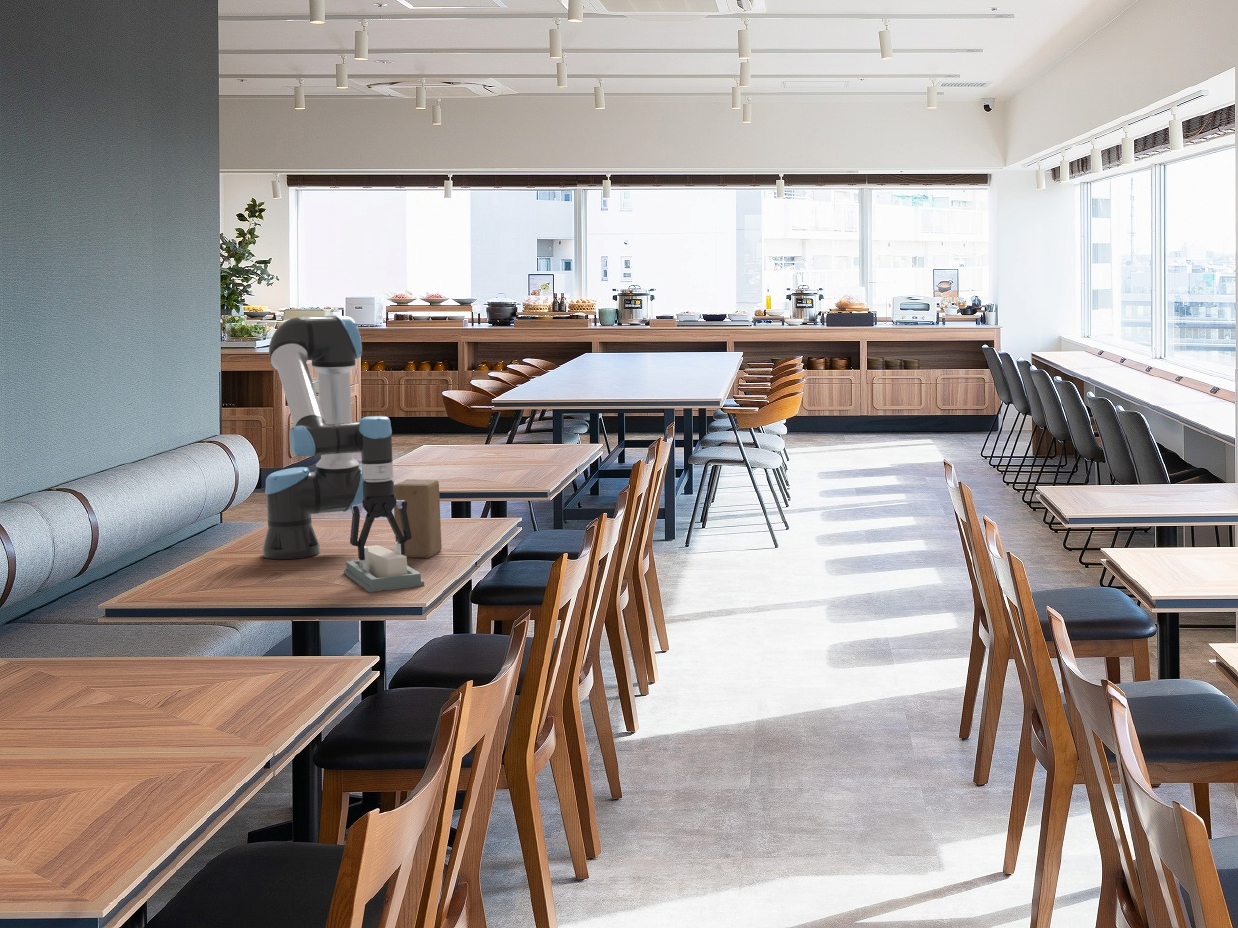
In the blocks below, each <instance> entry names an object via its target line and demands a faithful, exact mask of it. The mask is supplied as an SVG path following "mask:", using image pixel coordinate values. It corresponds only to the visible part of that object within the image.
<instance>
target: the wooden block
mask: <svg viewBox="0 0 1238 928" xmlns="http://www.w3.org/2000/svg"><path fill="white" fill-rule="evenodd" d="M394 497H395V499H396V500H400V501H401V500H404V501H406V502H407V510H406V511H407V516H408V521H409V526H410V531H411V536H412V538H411V539H410V540H407V541H406V542H405V543H404V545H405V554H404V556H407V558H409V559H410V558H412V559H428V558H431V557H433V556H435V555H436V554H438V553H440V552H442V525H441V524H442V523H441V505H440V504H441V503H440V502H441V501H440V499H441V498H440V482H439V480H437V479H412V478H411V479H406V480H402V481H400V482H398V483H394ZM393 513H394V514H393V515H394V518H395V520H396V522H397V525H398V527H399V529H400V531H401V533H402V535H404V533H403V528H402V523H401V518H400V513H399V509H398V508H397V505H395V507H394V508H393ZM394 539H395V542H398V540H397V538H396V536H395V537H394Z"/></svg>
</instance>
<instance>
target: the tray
mask: <svg viewBox="0 0 1238 928" xmlns="http://www.w3.org/2000/svg"><path fill="white" fill-rule="evenodd" d="M345 567H346V568H345V569H343V574H344V575H345V576H347V577H348V578H349V579H351V581H353V582H355V583H356V584H358V585H359V586H360V587H362V588H363V589H364V590H365V591H367V592H368V593H369V592H370V593H375V592H374V591H377V592H381V591H380V590H385V591H390V590H391V591H392V590H400V589H406V588H407V589H409V588H414V587H415V588H416V587H424V586H425V581H424V580H423V579H422V578H421V577H422V576H421V575H422V574H421V573H420V572H419V571H417V570H416V569H414V568H412V567H411V566H409V565H407V574H405V575H397V576H389V577H381V578H376V577H374V576H373V575H372V574H370V573H369V572H367V571H366V570H364V569H363V568H362V567H360V562H359V559H357V560H348V561H347V560H346V561H345Z"/></svg>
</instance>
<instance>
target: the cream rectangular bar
mask: <svg viewBox="0 0 1238 928" xmlns="http://www.w3.org/2000/svg"><path fill="white" fill-rule="evenodd" d="M365 546H366V545H365ZM366 547H368V562H369V573H370V574H372V575H373V576H374V577H376V578H381V577H389V576H397V575H405V574H407V566H408V561H407V560H408V559H407V556H404V555H402V554H399V553H397V552H395V550H391V549H389V548H386V547H384V546H381V545H379V544H376V545H375V544H374V545H368V546H366ZM358 560H359V559H358ZM359 562H360V567H362V568H363V560H359Z"/></svg>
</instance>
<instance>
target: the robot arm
mask: <svg viewBox="0 0 1238 928" xmlns="http://www.w3.org/2000/svg"><path fill="white" fill-rule="evenodd" d="M362 354H363V344H362V336H361V333H360V330H359V327H358V325H357V322H356V321H355V320H354V318H353V317H351V316H347V315H346V316H345V315H324V316H323V315H322V316H321V315H319V316H296V317H293V318H290V319H287V320H286V321H284V322H283V323H281V324H280V325H279V326H278V327H277V328H276V331H274V333H273V335H272V337H271V338H270V342H269V347H268V355H269V360H270V362H271V365H272V367H273V368H274V369H275V370H277V372H278V376H279V380H280V382H281V386H282V389H283V392H284V396H285V399H286V402H287V406H288V410H289V413H290V415H291V419H292V422H293V424H294V426H292V427H290V430H289V433H288V434H289V437H288V439H289V441H288V442H289V446H290V451H291V453H292V454H293V455H294V456H295V457H316V456H320V459H319V460H318V461H317V462H316V463H315V471H310V469H309V467H307V466H306V467H305V466H299V467H291V468H286V469H280V470H277V471H274V472H272V473H269V475H268V476H267V477H266V478H265V491H264V493H265V497H266V516H267V531H266V535H265V537H264V542H263V546H262V556H263V558H266V559H273V560H294V559H303V558H308V557H309V558H310V557H312V556H316V555H319V554H320V552H321V548H320V547H321V546H320V542H319V540H318V536H317V534H316V532H315V529H314V527H313V524H312V523H313V522H312V515H318V514H325V513H328V514H329V513H339V512H343V513H346V512H349V511H351V514H352V516H351V527H350V537H349V543H350V544H351V545H352V546H354V547H357V552H358V553H357V556H358V560H363V569H364V570H366V571H367V572H369V562H368V547H366V543H367V539H368V538H369V534H370V532H371V530H372V529H371V528H372V526H373V523H374V521H375V519H378V518H381V517H382V518H386V519H387V521H388V523H389V526H390V527H391V530H392V532H393V533H394V535H395V536H396V538H397V540H398V542H396V541H395V542H394V552H397V553H399V554H402V555H404V554H405V545H404V543H405V542H406V541H407V540H410V539H411V538H412V536H411V531H410V526H409V521H408V516H407V511H406V510H407V502H406V501H404V500H401V501H400V500H396V499H395V497H394V485H395V483H394V482H395V481H394V480H393V479H392V478H393V477H394V465H393V462H394V461H393V443H392V442H393V440H392V433H393V430H392V426H391V425H392V424H391V423H392V422H391V420H390V418H389V417H388V416H385V415H378V416H377V415H374V416H373V415H371V416H365V417H364V416H363V417H361V418H360V419H359V420H357V421H354V422H352V421H353V418H352V395H351V394H352V392H351V391H352V390H351V389H352V387H351V371H352V370H353V369H354V368H355V367H356V360H358V359H360V358H361V357H362ZM308 361H311V367H312V368H313V369H314V370H315V371H316V372H317V379H318V380H317V385H318V395H317V391H316V388H315V386H314V383H313V378H312V377H311V376H312V375H311V373H310V369H309V367H308V363H307V362H308ZM354 453H360V456H361V467H360V465H359V464H360V463H359V461H358V460H356V458H354ZM395 505H397V508H398V509H399V513H400V518H401V523H402V528H403V533H404V535H402V533H401V531H400V529H399V527H398V525H397V522H396V520H395V518H394V514H393V513H394V512H393V511H394V507H395ZM363 509H364V511H366V514H365V517H364V519H365V521H364V522H363V526H362V529H361V532H360V534H359V531H360V530H359V529H360V520H361V513H362V510H363Z"/></svg>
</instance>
